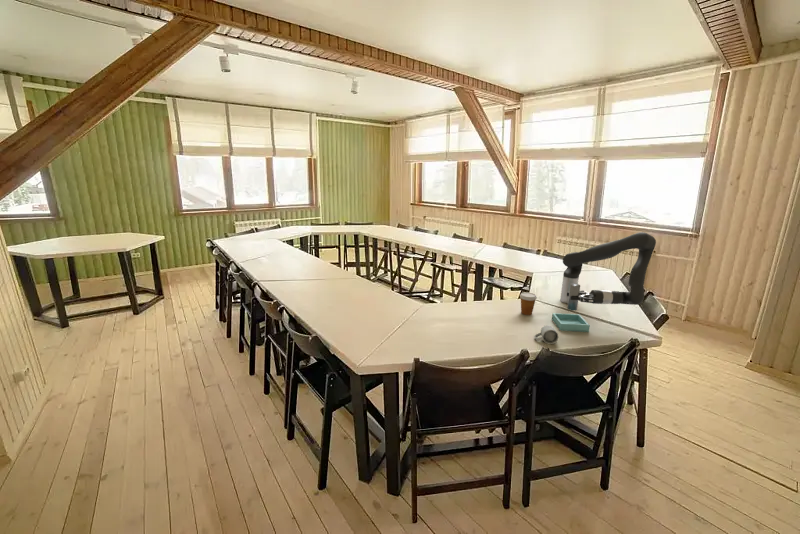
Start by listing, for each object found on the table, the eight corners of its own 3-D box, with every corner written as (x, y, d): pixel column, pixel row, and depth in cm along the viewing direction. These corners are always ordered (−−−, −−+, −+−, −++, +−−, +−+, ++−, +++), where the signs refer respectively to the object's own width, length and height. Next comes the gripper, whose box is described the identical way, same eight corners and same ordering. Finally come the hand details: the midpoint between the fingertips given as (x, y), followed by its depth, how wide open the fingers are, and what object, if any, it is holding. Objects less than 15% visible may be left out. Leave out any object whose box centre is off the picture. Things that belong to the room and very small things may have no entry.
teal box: (551, 319, 209) (552, 313, 208) (578, 320, 207) (579, 314, 206) (559, 330, 195) (560, 323, 193) (588, 332, 193) (589, 325, 192)
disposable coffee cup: (524, 317, 212) (526, 298, 209) (515, 311, 221) (517, 292, 218) (538, 315, 215) (540, 296, 211) (528, 309, 223) (530, 291, 220)
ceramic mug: (554, 337, 187) (555, 323, 185) (557, 344, 179) (559, 330, 177) (532, 336, 188) (534, 322, 186) (535, 343, 181) (537, 329, 179)
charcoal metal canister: (565, 307, 201) (568, 283, 197) (575, 307, 200) (578, 283, 197) (568, 310, 196) (572, 286, 192) (578, 310, 196) (581, 286, 192)
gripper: (596, 286, 201) (565, 285, 202) (608, 295, 187) (574, 293, 189) (594, 298, 203) (563, 297, 204) (606, 308, 189) (572, 307, 191)
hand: (568, 296), depth 196 cm, fingers closed on charcoal metal canister, 5 cm apart
